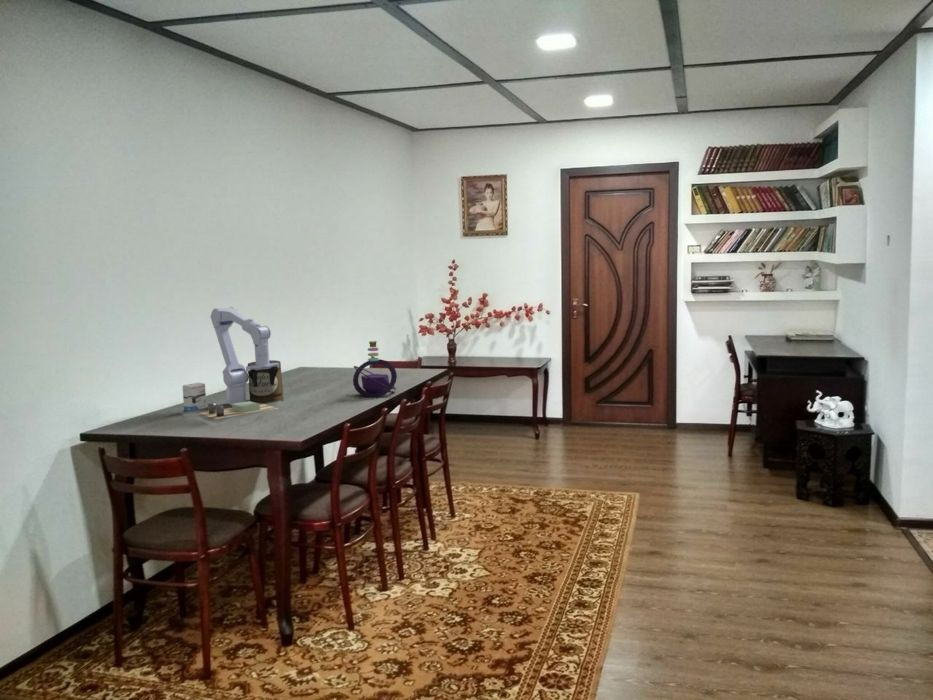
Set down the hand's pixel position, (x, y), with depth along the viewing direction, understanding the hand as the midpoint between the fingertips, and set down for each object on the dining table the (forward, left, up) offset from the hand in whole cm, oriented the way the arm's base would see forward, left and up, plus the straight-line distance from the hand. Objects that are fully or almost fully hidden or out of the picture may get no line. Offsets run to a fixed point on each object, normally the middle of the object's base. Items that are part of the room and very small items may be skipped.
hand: (263, 385), depth 330 cm
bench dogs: (-1, -21, -10) cm, 24 cm away
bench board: (-1, -11, -10) cm, 15 cm away
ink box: (-21, -22, -11) cm, 32 cm away
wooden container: (-16, +9, -11) cm, 21 cm away
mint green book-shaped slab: (-1, -8, -9) cm, 13 cm away
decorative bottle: (+7, +53, -11) cm, 54 cm away
